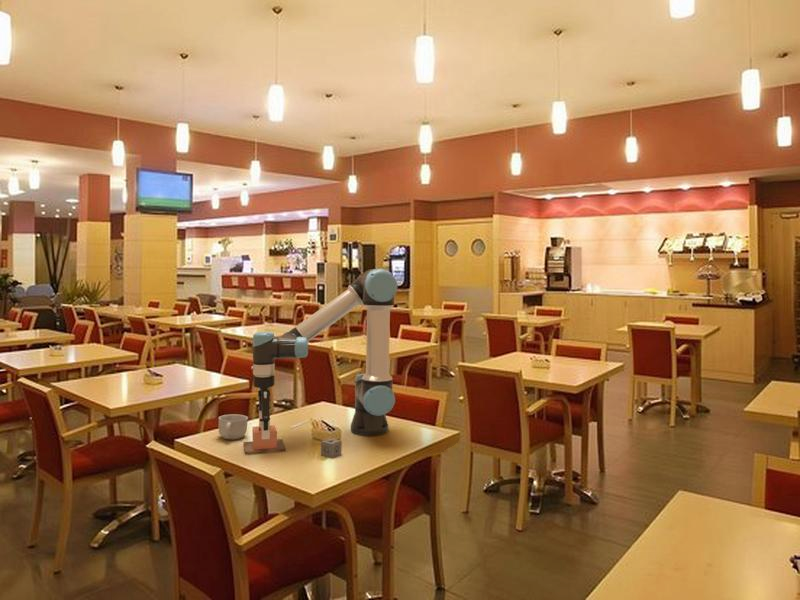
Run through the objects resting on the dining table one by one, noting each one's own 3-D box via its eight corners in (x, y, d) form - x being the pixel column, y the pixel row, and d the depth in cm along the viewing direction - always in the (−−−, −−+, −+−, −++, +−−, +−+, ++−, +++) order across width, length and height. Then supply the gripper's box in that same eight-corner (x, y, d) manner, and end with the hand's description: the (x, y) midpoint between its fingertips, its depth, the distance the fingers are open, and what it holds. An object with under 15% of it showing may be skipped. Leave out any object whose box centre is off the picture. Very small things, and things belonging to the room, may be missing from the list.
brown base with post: (282, 441, 218) (282, 415, 218) (285, 451, 207) (285, 423, 206) (243, 444, 214) (243, 417, 213) (244, 454, 203) (244, 426, 202)
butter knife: (286, 426, 237) (292, 427, 236) (321, 412, 262) (327, 412, 261) (286, 428, 237) (292, 428, 236) (322, 413, 262) (327, 414, 261)
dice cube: (321, 455, 203) (321, 441, 202) (330, 451, 207) (330, 438, 207) (331, 458, 200) (331, 444, 200) (341, 454, 204) (341, 440, 204)
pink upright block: (274, 441, 215) (274, 425, 215) (276, 447, 208) (276, 431, 207) (252, 442, 213) (252, 426, 213) (253, 449, 205) (253, 432, 205)
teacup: (226, 432, 229) (225, 412, 229) (252, 434, 228) (252, 413, 227) (209, 443, 215) (209, 422, 215) (237, 445, 214) (237, 423, 213)
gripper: (251, 369, 220) (251, 425, 221) (255, 382, 196) (255, 444, 197) (271, 368, 222) (271, 423, 223) (277, 381, 198) (278, 442, 199)
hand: (264, 433), depth 210 cm, fingers open, 13 cm apart
